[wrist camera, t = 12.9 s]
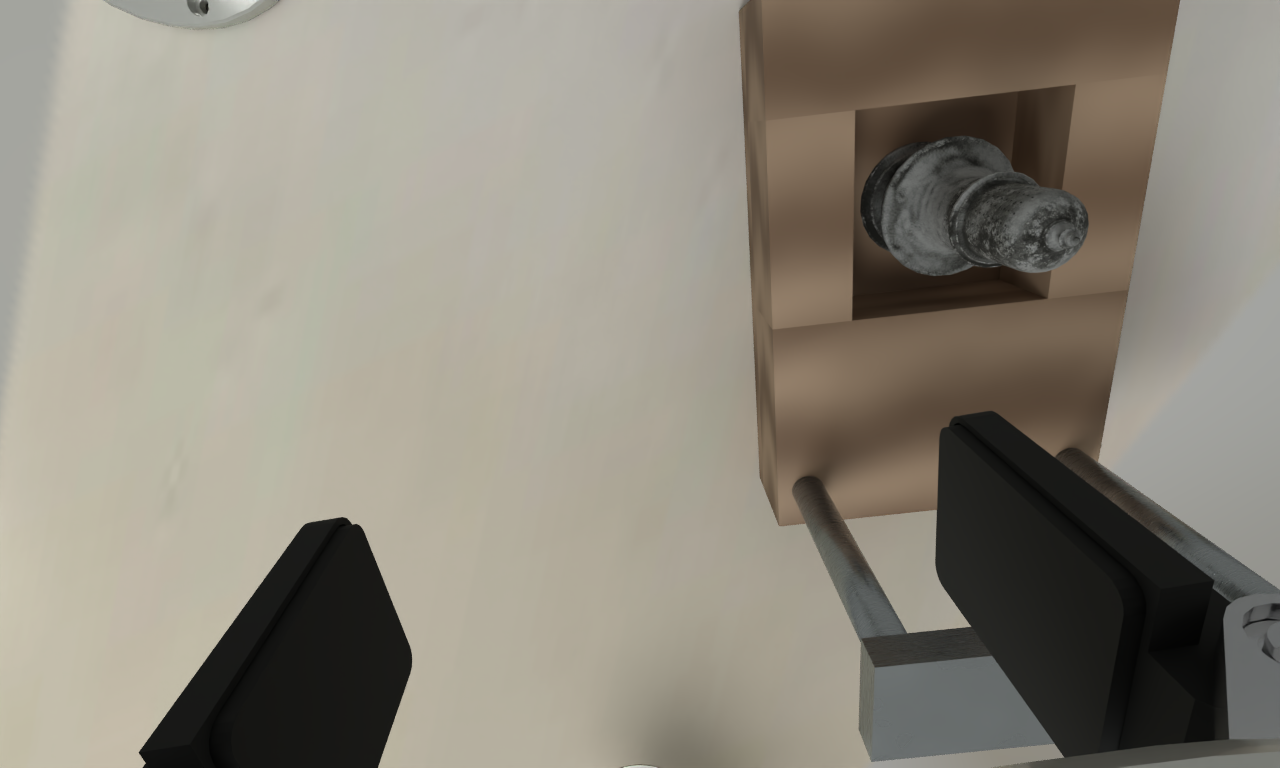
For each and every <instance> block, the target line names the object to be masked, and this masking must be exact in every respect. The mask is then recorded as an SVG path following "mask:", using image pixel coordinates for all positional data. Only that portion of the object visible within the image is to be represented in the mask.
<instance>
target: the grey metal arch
mask: <svg viewBox="0 0 1280 768" xmlns="http://www.w3.org/2000/svg"><path fill="white" fill-rule="evenodd" d="M1055 458H1056V459H1057V460H1059V461H1060V462H1061V463H1063V464H1064V465H1065V466H1066V467H1068V468H1069V469H1070V470H1072V471H1073V472H1074V473H1076V474H1077V475H1078V476H1079V477H1081V478H1082V479H1083V480H1085V481H1086V482H1087V483H1089V484H1090V485H1091V486H1092V487H1094V488H1095V489H1096V490H1098V491H1099V492H1100V493H1102V494H1103V495H1104V496H1105V497H1107V498H1108V499H1109V500H1111V501H1112V502H1113V503H1115V504H1116V505H1117V506H1118V507H1120V508H1121V509H1122V510H1124V511H1125V512H1126V513H1128V514H1129V515H1130V516H1131V517H1133V518H1134V519H1135V520H1137V521H1138V522H1139V523H1141V524H1142V525H1143V526H1144V527H1146V528H1147V529H1148V530H1150V531H1151V532H1152V533H1154V534H1155V535H1156V536H1157V537H1159V538H1160V539H1161V540H1163V541H1164V542H1165V543H1167V544H1168V545H1169V546H1170V547H1172V548H1173V549H1174V550H1176V551H1177V552H1178V553H1180V554H1181V555H1182V556H1183V557H1185V558H1186V559H1187V560H1189V561H1190V562H1191V563H1193V564H1194V565H1195V566H1196V567H1198V568H1199V569H1200V570H1202V571H1203V572H1204V573H1206V574H1207V575H1208V576H1209V577H1211V578H1212V579H1213V580H1215V581H1214V585H1213V589H1214V590H1216V591H1217V592H1218V593H1219V594H1221V595H1222V596H1223V597H1225V598H1226V599H1227V600H1228V601H1230V602H1231V603H1232V602H1234V601H1235V600H1236V599H1238V598H1241V597H1245V596H1249V595H1254V594H1280V590H1279V589H1277V588H1276V587H1275V586H1273V585H1272V584H1270V583H1269V582H1268V581H1266V580H1265V579H1263V578H1262V577H1261V576H1259V575H1258V574H1256V573H1255V572H1253V571H1252V570H1250V569H1249V568H1248V567H1246V566H1245V565H1243V564H1242V563H1241V562H1239V561H1238V560H1236V559H1235V558H1234V557H1232V556H1231V555H1229V554H1228V553H1226V552H1225V551H1224V550H1222V549H1221V548H1219V547H1218V546H1216V545H1215V544H1214V543H1212V542H1211V541H1209V540H1208V539H1206V538H1205V537H1203V536H1202V535H1201V534H1199V533H1198V532H1196V531H1195V530H1194V529H1192V528H1191V527H1189V526H1188V525H1187V524H1185V523H1184V522H1182V521H1181V520H1179V519H1178V518H1177V517H1175V516H1174V515H1172V514H1171V513H1170V512H1168V511H1167V510H1165V509H1164V508H1162V507H1161V506H1160V505H1158V504H1156V503H1155V502H1154V501H1152V500H1151V499H1150V498H1148V497H1146V496H1145V495H1144V494H1142V493H1141V492H1140V491H1138V490H1137V489H1135V488H1134V487H1132V486H1131V485H1130V484H1128V483H1127V482H1125V481H1124V480H1123V479H1121V478H1120V477H1118V476H1117V475H1115V474H1114V473H1113V472H1111V471H1110V470H1108V469H1107V468H1106V467H1104V466H1103V465H1101V464H1100V463H1098V462H1097V461H1096V460H1094V459H1093V458H1091V457H1090V456H1088V455H1087V454H1086V453H1084V452H1083V451H1081V450H1080V449H1078V448H1067V449H1064V450H1062V451H1060V452H1059V453H1058V454H1057V455H1056V456H1055ZM792 495H793V497H794V499H795V501H796V503H797V506H798V508H799V510H800V512H801V514H802V516H803V519H804V521H805V523H806V525H807V527H808V529H809V532H810V534H811V536H812V538H813V540H814V542H815V545H816V547H817V549H818V551H819V553H820V555H821V558H822V560H823V562H824V564H825V566H826V568H827V571H828V573H829V575H830V577H831V579H832V581H833V583H834V586H835V588H836V590H837V592H838V594H839V596H840V599H841V601H842V603H843V605H844V607H845V609H846V612H847V614H848V616H849V618H850V620H851V622H852V625H853V627H854V629H855V631H856V633H857V635H858V638H859V640H860V642H861V660H860V700H859V731H860V734H861V736H862V739H863V741H864V744H865V747H866V749H867V752H868V754H869V757H870V759H871V762H874V761H884V760H894V759H904V758H915V757H925V756H935V755H945V754H954V753H965V752H975V751H984V750H994V749H1004V748H1015V747H1025V746H1035V745H1045V744H1055V743H1054V742H1053V741H1052V739H1051V738H1050V736H1049V735H1048V734H1047V732H1046V731H1045V729H1044V728H1043V727H1042V725H1041V724H1040V722H1039V721H1038V720H1037V718H1036V717H1035V715H1034V714H1033V713H1032V711H1031V710H1030V708H1029V707H1028V706H1027V704H1026V703H1025V701H1024V700H1023V698H1022V697H1021V696H1020V694H1019V693H1018V691H1017V690H1016V689H1015V687H1014V686H1013V684H1012V683H1011V682H1010V680H1009V679H1008V677H1007V676H1006V675H1005V673H1004V672H1003V670H1002V669H1001V668H1000V666H999V665H998V663H997V662H996V661H995V659H994V658H993V656H992V655H991V654H990V652H989V651H988V649H987V648H986V647H985V645H984V644H983V642H982V641H981V639H980V638H979V637H978V635H977V634H976V632H975V631H974V630H973V628H972V627H966V628H956V629H946V630H937V631H927V632H917V633H907V632H906V630H905V629H904V627H903V625H902V623H901V621H900V620H899V618H898V616H897V614H896V613H895V611H894V609H893V607H892V605H891V604H890V602H889V600H888V598H887V597H886V595H885V593H884V591H883V589H882V588H881V586H880V584H879V582H878V581H877V579H876V577H875V575H874V573H873V572H872V570H871V568H870V566H869V565H868V563H867V561H866V559H865V557H864V556H863V554H862V552H861V550H860V549H859V547H858V545H857V543H856V541H855V540H854V538H853V536H852V534H851V533H850V531H849V529H848V527H847V525H846V524H845V522H844V520H843V518H842V517H841V515H840V513H839V511H838V509H837V508H836V506H835V504H834V502H833V501H832V499H831V497H830V495H829V493H828V492H827V490H826V488H825V486H824V485H823V483H822V481H821V480H820V479H819V478H817V477H815V476H804V477H802V478H800V479H798V480H797V481H796V482H795V483H794V485H793V488H792Z"/></svg>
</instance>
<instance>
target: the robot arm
mask: <svg viewBox="0 0 1280 768" xmlns="http://www.w3.org/2000/svg"><path fill="white" fill-rule="evenodd" d="M104 1H105V2H107V3H108V4H110V5H111V6H113V7H116V8H118V9H120V10H122V11H125V12H127V13H129V14H132V15H134V16H136V17H138V18H141V19H144V20H148V21H152V22H155V23H159V24H163V25H167V26H173V27H180V28H187V29H194V30H203V29H219V28H226V27H229V26H233V25H236V24H239V23H243V22H246V21H249V20H251V19H252V18H254V17H256V16H258V15H259V14H261V13H263V12H264V11H266V10H268V9H269V8H271V7H272V6H273V5H274V4H275V3H276V2H277V1H278V0H104ZM207 3H208V4H209V11H208V12H207V11H206V4H207ZM935 563H936V570H937V574H938V577H939V580H940V582H941V584H942V586H943V587H944V589H945V590H946V592H947V593H948V595H949V596H950V597H951V599H952V600H953V602H954V603H955V604H956V606H957V607H958V609H959V610H960V611H961V613H962V614H963V616H964V617H965V618H966V620H967V621H968V623H969V624H970V625H971V627H972V628H973V630H974V631H975V632H976V634H977V635H978V637H979V638H980V639H981V641H982V642H983V644H984V645H985V647H986V648H987V649H988V651H989V652H990V654H991V655H992V656H993V658H994V659H995V661H996V662H997V663H998V665H999V666H1000V668H1001V669H1002V670H1003V672H1004V673H1005V675H1006V676H1007V677H1008V679H1009V680H1010V682H1011V683H1012V684H1013V686H1014V687H1015V689H1016V690H1017V691H1018V693H1019V694H1020V696H1021V697H1022V698H1023V700H1024V701H1025V703H1026V704H1027V706H1028V707H1029V708H1030V710H1031V711H1032V713H1033V714H1034V715H1035V717H1036V718H1037V720H1038V721H1039V722H1040V724H1041V725H1042V727H1043V728H1044V729H1045V731H1046V732H1047V734H1048V735H1049V736H1050V738H1051V739H1052V741H1053V742H1054V743H1055V745H1056V746H1057V748H1058V749H1059V750H1060V752H1061V753H1062V755H1063V756H1064V757H1065V758H1059V759H1051V760H1043V761H1036V762H1028V763H1020V764H1013V765H1007V766H1000V767H993V768H1280V594H1254V595H1249V596H1245V597H1241V598H1238V599H1236V600H1235V601H1234V602H1232V603H1231V602H1230V601H1228V600H1227V599H1226V598H1225V597H1223V596H1222V595H1221V594H1219V593H1218V592H1217V591H1216V590H1214V589H1213V585H1214V581H1215V580H1213V579H1212V578H1211V577H1209V576H1208V575H1207V574H1206V573H1204V572H1203V571H1202V570H1200V569H1199V568H1198V567H1196V566H1195V565H1194V564H1193V563H1191V562H1190V561H1189V560H1187V559H1186V558H1185V557H1183V556H1182V555H1181V554H1180V553H1178V552H1177V551H1176V550H1174V549H1173V548H1172V547H1170V546H1169V545H1168V544H1167V543H1165V542H1164V541H1163V540H1161V539H1160V538H1159V537H1157V536H1156V535H1155V534H1154V533H1152V532H1151V531H1150V530H1148V529H1147V528H1146V527H1144V526H1143V525H1142V524H1141V523H1139V522H1138V521H1137V520H1135V519H1134V518H1133V517H1131V516H1130V515H1129V514H1128V513H1126V512H1125V511H1124V510H1122V509H1121V508H1120V507H1118V506H1117V505H1116V504H1115V503H1113V502H1112V501H1111V500H1109V499H1108V498H1107V497H1105V496H1104V495H1103V494H1102V493H1100V492H1099V491H1098V490H1096V489H1095V488H1094V487H1092V486H1091V485H1090V484H1089V483H1087V482H1086V481H1085V480H1083V479H1082V478H1081V477H1079V476H1078V475H1077V474H1076V473H1074V472H1073V471H1072V470H1070V469H1069V468H1068V467H1066V466H1065V465H1064V464H1063V463H1061V462H1060V461H1059V460H1057V459H1056V458H1055V457H1053V456H1052V455H1051V454H1050V453H1048V452H1047V451H1046V450H1044V449H1043V448H1042V447H1040V446H1039V445H1038V444H1037V443H1035V442H1034V441H1033V440H1031V439H1030V438H1029V437H1028V436H1026V435H1025V434H1024V433H1022V432H1021V431H1020V430H1018V429H1017V428H1016V427H1015V426H1013V425H1012V424H1011V423H1009V422H1008V421H1007V420H1005V419H1004V418H1003V417H1002V416H1000V415H999V414H998V413H996V412H994V411H984V412H978V413H972V414H966V415H960V416H954V417H953V418H952V419H951V421H950V423H949V427H944V428H942V429H941V432H940V436H939V463H938V495H937V527H936V559H935ZM411 668H412V653H411V649H410V645H409V643H408V640H407V638H406V635H405V633H404V630H403V628H402V625H401V623H400V620H399V618H398V615H397V613H396V611H395V608H394V606H393V603H392V601H391V598H390V596H389V593H388V591H387V588H386V586H385V583H384V581H383V578H382V576H381V573H380V571H379V568H378V566H377V563H376V561H375V558H374V556H373V553H372V551H371V548H370V546H369V543H368V541H367V538H366V536H365V533H364V531H363V529H362V528H361V527H360V526H359V525H357V524H353V525H352V524H351V522H350V521H349V520H348V519H347V518H344V517H341V518H335V519H329V520H322V521H316V522H310V523H307V524H305V525H304V526H303V527H302V528H301V529H300V531H299V532H298V533H297V535H296V536H295V538H294V539H293V540H292V542H291V543H290V544H289V546H288V547H287V549H286V550H285V551H284V553H283V554H282V556H281V557H280V558H279V560H278V561H277V562H276V564H275V565H274V567H273V568H272V569H271V571H270V572H269V573H268V575H267V576H266V578H265V579H264V580H263V582H262V583H261V584H260V586H259V587H258V589H257V590H256V591H255V593H254V594H253V596H252V597H251V598H250V600H249V601H248V602H247V604H246V605H245V607H244V608H243V609H242V611H241V612H240V613H239V615H238V616H237V618H236V619H235V620H234V622H233V623H232V624H231V626H230V627H229V629H228V630H227V631H226V633H225V634H224V636H223V637H222V638H221V640H220V641H219V642H218V644H217V645H216V647H215V648H214V649H213V651H212V652H211V653H210V655H209V656H208V658H207V659H206V660H205V662H204V663H203V665H202V666H201V667H200V669H199V670H198V671H197V673H196V674H195V676H194V677H193V678H192V680H191V681H190V682H189V684H188V685H187V687H186V688H185V689H184V691H183V692H182V693H181V695H180V696H179V698H178V699H177V700H176V702H175V703H174V705H173V706H172V707H171V709H170V710H169V711H168V713H167V714H166V716H165V717H164V718H163V720H162V721H161V722H160V724H159V725H158V727H157V728H156V729H155V731H154V732H153V733H152V735H151V736H150V738H149V739H148V740H147V742H146V743H145V745H144V746H143V747H142V749H141V750H140V751H139V754H140V755H141V757H142V758H143V760H144V761H145V762H146V764H145V765H144V767H143V768H378V765H379V763H380V760H381V757H382V754H383V751H384V748H385V745H386V742H387V739H388V736H389V734H390V731H391V728H392V725H393V722H394V719H395V716H396V713H397V710H398V707H399V704H400V702H401V699H402V696H403V693H404V690H405V687H406V684H407V681H408V678H409V675H410V672H411Z"/></svg>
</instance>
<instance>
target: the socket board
mask: <svg viewBox="0 0 1280 768" xmlns="http://www.w3.org/2000/svg"><path fill="white" fill-rule="evenodd" d="M1179 3H1180V0H750V1H749V2H748V3H747V4H746V5H745V6H744V7H743V8H742V9H741V10H740V11H739V24H740V46H741V68H742V90H743V112H744V135H745V157H746V179H747V201H748V223H749V246H750V268H751V290H752V312H753V335H754V357H755V379H756V401H757V423H758V446H759V468H760V479H761V481H762V484H763V486H764V489H765V491H766V494H767V497H768V499H769V502H770V504H771V507H772V509H773V512H774V514H775V517H776V520H777V522H778V525H779V526H787V525H796V524H806V523H805V521H804V519H803V516H802V514H801V512H800V510H799V508H798V506H797V503H796V501H795V499H794V497H793V495H792V488H793V485H794V483H795V482H796V481H797V480H798V479H800V478H802V477H804V476H815V477H817V478H819V479H820V480H821V481H822V483H823V485H824V486H825V488H826V490H827V492H828V493H829V495H830V497H831V499H832V501H833V502H834V504H835V506H836V508H837V509H838V511H839V513H840V515H841V517H842V518H843V520H844V519H853V518H862V517H872V516H881V515H891V514H900V513H910V512H919V511H929V510H937V495H938V463H939V436H940V432H941V429H942V428H944V427H949V423H950V421H951V419H952V418H953V417H954V416H960V415H966V414H972V413H978V412H984V411H994V412H996V413H998V414H999V415H1000V416H1002V417H1003V418H1004V419H1005V420H1007V421H1008V422H1009V423H1011V424H1012V425H1013V426H1015V427H1016V428H1017V429H1018V430H1020V431H1021V432H1022V433H1024V434H1025V435H1026V436H1028V437H1029V438H1030V439H1031V440H1033V441H1034V442H1035V443H1037V444H1038V445H1039V446H1040V447H1042V448H1043V449H1044V450H1046V451H1047V452H1048V453H1050V454H1051V455H1052V456H1053V457H1055V456H1056V455H1057V454H1058V453H1059V452H1060V451H1062V450H1064V449H1067V448H1078V449H1080V450H1081V451H1083V452H1084V453H1086V454H1087V455H1088V456H1090V457H1091V458H1093V459H1094V460H1096V461H1097V462H1098V459H1099V453H1100V448H1101V442H1102V437H1103V431H1104V425H1105V420H1106V414H1107V408H1108V403H1109V397H1110V392H1111V386H1112V380H1113V375H1114V369H1115V363H1116V358H1117V352H1118V347H1119V341H1120V335H1121V330H1122V324H1123V318H1124V313H1125V307H1126V302H1127V296H1128V290H1129V285H1130V279H1131V273H1132V268H1133V262H1134V257H1135V251H1136V245H1137V240H1138V234H1139V228H1140V223H1141V217H1142V212H1143V206H1144V200H1145V195H1146V189H1147V183H1148V178H1149V172H1150V167H1151V161H1152V155H1153V150H1154V144H1155V138H1156V133H1157V127H1158V122H1159V116H1160V110H1161V105H1162V99H1163V93H1164V88H1165V82H1166V77H1167V71H1168V65H1169V60H1170V54H1171V48H1172V43H1173V37H1174V32H1175V26H1176V20H1177V15H1178V9H1179ZM954 136H970V137H975V138H979V139H984V140H985V141H987V142H989V143H990V144H992V145H994V146H996V147H997V148H999V150H1000V151H1001V152H1002V153H1003V154H1004V155H1005V156H1006V157H1007V159H1008V160H1009V161H1010V163H1011V166H1012V168H1013V170H1014V172H1018V173H1023V174H1025V175H1026V176H1028V177H1030V178H1032V179H1033V180H1034V181H1035V182H1036V183H1037V184H1038V185H1039V186H1040V187H1047V188H1054V189H1059V190H1064V191H1066V192H1068V193H1070V194H1072V195H1074V196H1075V197H1077V198H1078V199H1079V200H1080V201H1081V202H1082V203H1083V204H1084V206H1085V208H1086V211H1087V213H1088V220H1089V227H1088V232H1087V236H1086V239H1085V241H1084V243H1083V245H1082V246H1081V248H1080V249H1079V251H1078V252H1077V253H1076V254H1075V255H1074V256H1073V257H1072V258H1071V259H1070V260H1069V261H1068V262H1067V263H1065V264H1063V265H1061V266H1060V267H1058V268H1056V269H1053V270H1050V271H1047V272H1039V273H1028V272H1022V271H1018V270H1015V269H1013V268H1010V267H1007V266H1004V265H1001V266H998V267H989V268H984V267H978V266H972V267H971V268H969V269H967V270H964V271H961V272H958V273H955V274H952V275H941V276H931V275H926V274H921V273H917V272H915V271H913V270H911V269H909V268H907V267H905V266H903V265H902V264H901V263H900V262H899V261H898V260H897V259H896V258H895V257H894V256H893V255H892V254H891V252H889V251H887V250H885V249H883V248H881V247H879V246H878V245H877V244H876V243H875V242H874V241H873V240H872V239H871V238H870V237H869V235H868V233H867V232H866V230H865V228H864V226H863V222H862V218H861V213H860V206H861V195H862V192H863V189H864V185H865V182H866V180H867V179H868V177H869V175H870V173H871V172H872V170H873V168H874V167H875V166H876V165H877V164H878V163H879V162H880V161H881V160H882V159H883V158H884V157H885V156H886V155H888V154H889V153H891V152H892V151H894V150H895V149H897V148H899V147H902V146H904V145H907V144H910V143H915V142H934V141H937V140H940V139H943V138H945V137H954Z"/></svg>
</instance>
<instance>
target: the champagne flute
mask: <svg viewBox="0 0 1280 768" xmlns="http://www.w3.org/2000/svg"><path fill="white" fill-rule="evenodd" d="M624 768H657V767H652V766H645V765H635V766H628V767H624Z"/></svg>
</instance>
